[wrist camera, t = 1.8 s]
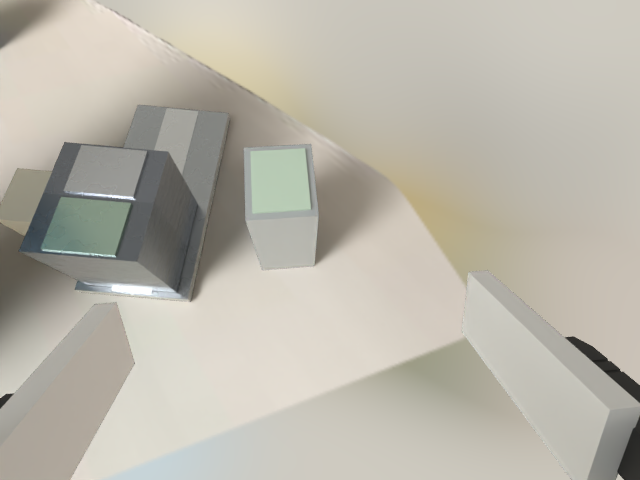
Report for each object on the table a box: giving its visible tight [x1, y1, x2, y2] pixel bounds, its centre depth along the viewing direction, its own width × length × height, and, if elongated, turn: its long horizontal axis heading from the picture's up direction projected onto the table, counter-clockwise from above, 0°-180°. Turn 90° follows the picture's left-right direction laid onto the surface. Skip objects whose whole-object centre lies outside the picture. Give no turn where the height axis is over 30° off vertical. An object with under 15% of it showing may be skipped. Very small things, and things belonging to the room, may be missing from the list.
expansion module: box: [244, 144, 319, 270], centre depth 31 cm, size 5×6×11 cm
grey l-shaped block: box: [19, 105, 230, 302], centre depth 33 cm, size 10×21×10 cm, turn 176°
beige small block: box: [0, 168, 52, 236], centre depth 34 cm, size 4×5×5 cm
